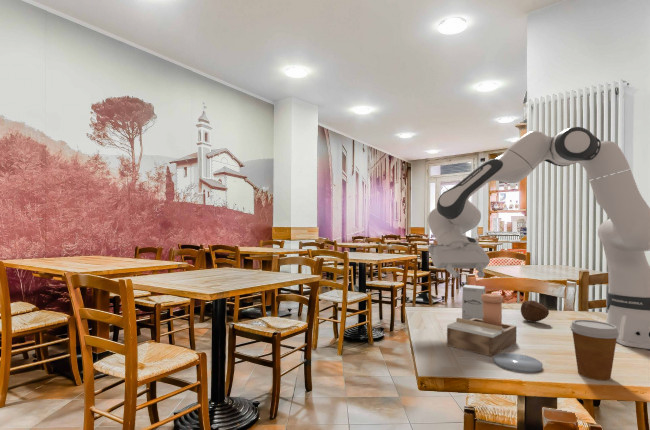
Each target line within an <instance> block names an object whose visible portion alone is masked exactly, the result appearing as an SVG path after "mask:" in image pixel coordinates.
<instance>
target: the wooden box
mask: <svg viewBox="0 0 650 430" xmlns="http://www.w3.org/2000/svg"><path fill="white" fill-rule="evenodd" d="M470 320H471V321H477V322H482V323H483V320H482V319H476V318H472V319H470ZM446 328H447V327H446ZM446 333H447V334H446V346H449V347H453V348H456V349H457V348H458V349H462V350H465V351H469V352H473V353H476V354H481V355H485V356H489V357H493V358H494V355H496V354H499V353H503V351H505V350H506V349H508V348H510V347H512V346H513V345H514V344H517V326H516V325H514V324H513V325H512V324H507V323H504V322H502V333H501V334H499V335H497V336H495V337H493V338H492V337H487V336H482V335H478V334H473V333H469V332H464V331H460V330H455V329H450V328H447V329H446Z"/></svg>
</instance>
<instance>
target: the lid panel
mask: <svg viewBox="0 0 650 430" xmlns="http://www.w3.org/2000/svg"><path fill="white" fill-rule="evenodd" d="M446 328H450V329H455V330H460V331H464V332H469V333H473V334H478V335H482V336H487V337H492V338H493V337H495V336H497V335H499V334H501V333H502V326H497V325H492V324H487V323H482V322H477V321H471V320H466V319H462V317H457V318H456V321H455V322H452V323H448V324H447V326H446Z"/></svg>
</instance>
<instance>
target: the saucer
mask: <svg viewBox="0 0 650 430" xmlns="http://www.w3.org/2000/svg"><path fill="white" fill-rule="evenodd" d="M493 363H494V364H495V365H497V366H498V367H500V368H502V369H505V370H509V371H512V372H513V371H514V372H518V373H527V374H528V373H530V374H531V373H533V374H534V373H539V372H542V370H543V363H542V362H541V361H540V360H539V359H536V358H534V357H532V356H529V355H526V354H525V355H524V354H521V353H514V352H513V353H512V352H500V353H498V354H496V355H494V356H493Z"/></svg>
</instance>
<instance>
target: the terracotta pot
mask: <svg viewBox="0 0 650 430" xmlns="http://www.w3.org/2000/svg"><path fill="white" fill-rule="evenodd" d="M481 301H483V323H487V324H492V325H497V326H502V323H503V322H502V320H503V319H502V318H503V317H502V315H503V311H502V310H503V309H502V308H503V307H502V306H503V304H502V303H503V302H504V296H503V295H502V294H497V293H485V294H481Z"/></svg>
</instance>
